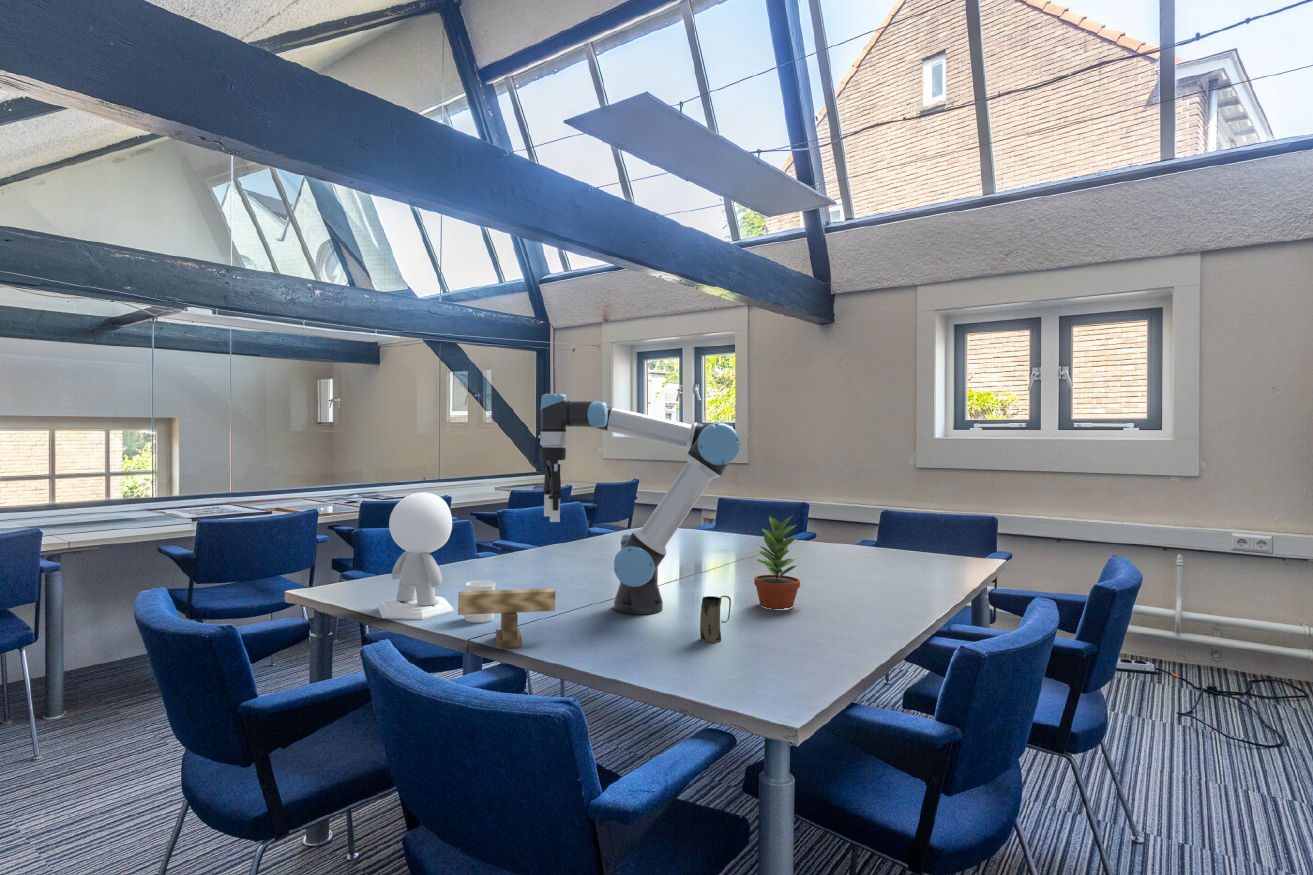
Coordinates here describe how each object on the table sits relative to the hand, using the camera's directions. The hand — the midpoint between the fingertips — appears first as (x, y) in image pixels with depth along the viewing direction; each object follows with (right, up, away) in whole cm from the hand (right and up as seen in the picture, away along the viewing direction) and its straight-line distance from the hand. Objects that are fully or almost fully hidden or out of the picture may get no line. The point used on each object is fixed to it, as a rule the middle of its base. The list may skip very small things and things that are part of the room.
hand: (551, 519), depth 203 cm
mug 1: (-21, -28, -7) cm, 36 cm away
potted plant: (+69, -31, +18) cm, 78 cm away
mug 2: (+46, -30, -20) cm, 59 cm away
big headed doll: (-41, -28, +3) cm, 49 cm away
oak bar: (-7, -20, -26) cm, 34 cm away
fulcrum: (-7, -28, -26) cm, 39 cm away
